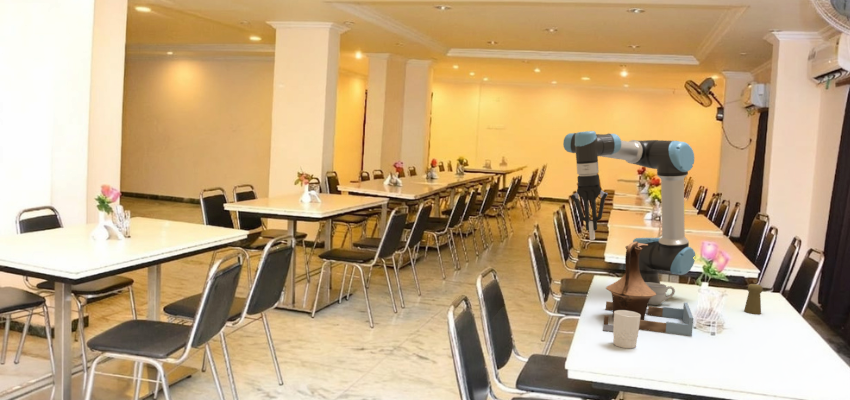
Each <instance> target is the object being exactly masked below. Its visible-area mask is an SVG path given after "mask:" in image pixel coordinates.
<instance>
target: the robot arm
mask: <svg viewBox="0 0 850 400" xmlns="http://www.w3.org/2000/svg"><path fill="white" fill-rule="evenodd" d="M563 148H564V150H565V151H566V152H568V153H572V154H575V158H576V159H575V160H576V174H577V175H578V176H577V189H576V192H575V193H573V194H572V195H571V196H570V197H571V199H572V200H573V201H574V204H575V207H576V210H577V214H578V217H579V220H580V221H583V222H584V223H585V230H586V231H589V232H588V233H589V240H590V241H594V240H595V239H596V231H597V230H598V221H600V220H601V219H602V218H603V213H604V207H605V202H606V199H607V197H608V192H604V190H602V188H601V185H600V175H599V174H598V173H599V170H600V169H599V159H598V158H599V157H603V158H608V159H609V158H610V159H616V160H621V161H622V160H623V161H625V162H626V163H628V164H631V165H636V166H641V167H643V168H644V167H645V168H647V169H654V170H656V176H657V177H658V178H659V179H660V181H661V182H660V183H661V185H660V186H661V187H660V188H661V189H660V191H661V193H660V195H661V230H662V231H661V237H635V238H634V239H633V240H632V243H633V242H635V241H636V242H638V243H643V244H648V246H645V247H644V248H643V249H642V250H641V253H640V256H639V270H640V274H641V277H642V279H643V280H644V282H651V283H659V284H661V281H660V277H659V272H660V271H661V272H665V273H669V274H671V275H679V276H682V275H686V274H687V273H689V272H690V271H691V270H692V268H693V266H694V264H695V261H696V259H695V260H694V259H693V257H694V256H695V257H696V252H695V250H694V248H693V247H691V246H690V245H689V244H690V243H689V241H690V240H689V239H688V238H686V237H685V232H686V231H685V230H686V229H685V178H686V177H687V176H688V175H689V172H690V171H691V170H692V169H693V167H694V166H693V165H694V163H695V153H694V149H693V148H692V146H690V144H689V143H687V142H686V141H679V140H663V139H662V140H658V139H651V140H650V139H648V140H646V139H645V140H635V139H631V140H629V141H627V140H621V137H620V136H619V135H618V134H616V133H605V134H602V133H600V134H599V133H596V131H594V130H589V131H588V130H587V131H578V132H572V133H567V134H566V135H565V137H564V138H563ZM599 196H600V198H601V199H600V202H599V207H598V214H597V199H598V197H599ZM579 197H580V198H581V199H582V200H583V204H584V205H583V206H584V207H583V208H584V211H583V209H582V206H581V202H580V200H579ZM589 201H590V203H591V214H592V215H591V216H592V220H591V219H590V217H591V216H590V206H589V205H590V204H589Z"/></svg>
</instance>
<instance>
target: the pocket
mask: <svg viewBox="0 0 850 400" xmlns="http://www.w3.org/2000/svg"><path fill="white" fill-rule="evenodd" d="M662 308H663V313H662V317H661V318H669V319H676V320H677V319H678V320H682V323H680V322H673V321H665V323H666V332H665V334H672V335H680V336H681V335H682V336H689V337H692V336H693V327H694V325H693V324H694V316H693V313H692V311H691V308H690V306H689V304H688V302H685V301H684V302H683V307H682V308H677V307H670V306H662Z"/></svg>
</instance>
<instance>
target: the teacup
mask: <svg viewBox="0 0 850 400" xmlns="http://www.w3.org/2000/svg"><path fill="white" fill-rule="evenodd" d="M645 283H646V284H647V285H648V287H649V288H650V289H651V290H653V291H654V292H655V293H656V295H655V296H653V297H651V298H650V300H649V302H648V305H649V306H650V305H651V306H659V305H661V304H662V303H664V302H665V301H667V300H668V299H669V298H672V297H673V296H674V295H675V293H676V290H675V287H673V286H671V285H668V286H667V285H666V284H663V283H660V284H659V283H651V282H645ZM670 289H671V291H672V292H671V293H670V294H667V295H666V293H667V292H668V290H670Z"/></svg>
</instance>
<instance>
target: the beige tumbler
mask: <svg viewBox="0 0 850 400" xmlns="http://www.w3.org/2000/svg"><path fill="white" fill-rule="evenodd" d="M640 317H641V315H640V314H639V313H636V312H633V311H626V310H617V311H614V318H613V324H612V325H613V332H612V333H613V335H612V336H613V339H612V340H613V341H612V343H613V345H614V346H616V347H618V348H623V349H635V348H636V347H637V341H638V340H637V339H638V337H639V330H640V329H639V325H640Z"/></svg>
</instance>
